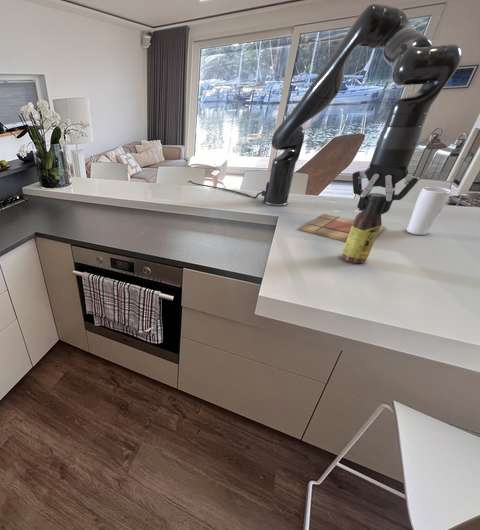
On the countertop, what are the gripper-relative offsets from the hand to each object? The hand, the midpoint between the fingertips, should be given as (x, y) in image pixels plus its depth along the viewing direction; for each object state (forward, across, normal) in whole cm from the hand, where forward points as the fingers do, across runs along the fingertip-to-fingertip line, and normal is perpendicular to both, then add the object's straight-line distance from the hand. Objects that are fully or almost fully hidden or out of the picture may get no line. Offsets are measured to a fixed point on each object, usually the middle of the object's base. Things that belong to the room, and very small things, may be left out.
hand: (371, 211), depth 79 cm
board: (+15, +11, -22) cm, 29 cm away
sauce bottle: (+15, 0, 0) cm, 15 cm away
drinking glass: (+15, -7, -35) cm, 39 cm away
